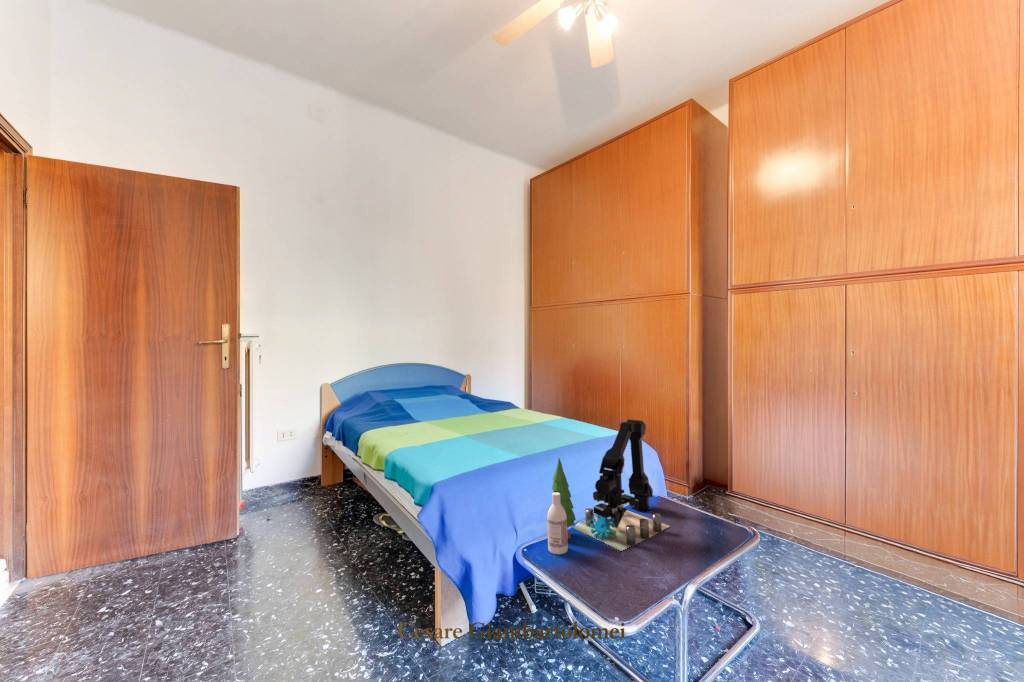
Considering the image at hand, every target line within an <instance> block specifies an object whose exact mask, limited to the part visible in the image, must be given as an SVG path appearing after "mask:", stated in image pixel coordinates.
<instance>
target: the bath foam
mask: <svg viewBox="0 0 1024 682" xmlns="http://www.w3.org/2000/svg"><path fill="white" fill-rule="evenodd" d="M553 492H554V491H553ZM553 492H552V493H551V502H552V503H551V505H550V506H549V509H548V511H547V515H546V516H547V517H546V518H547V519H546V520H547V521H546V523H547V525H546V526H547V548H548V549H547V550H548V552H550V553H551V554H553V555H564V554H566V553H567V552H568V550H569V549H568V548H569V547H568V544H569V543H568V542H569V541H568V540H569V539H567V530H568V528H567V516H566V512H565V510H564V508H563V506H562V505H561V502H560V493H558V492H554V493H553Z"/></svg>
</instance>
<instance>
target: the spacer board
mask: <svg viewBox="0 0 1024 682" xmlns="http://www.w3.org/2000/svg"><path fill="white" fill-rule="evenodd" d="M594 518H595V519H596V521H597V517H594ZM610 518H611V517H610ZM610 518H607V519H610ZM640 519H647V520H648V521H649V538H648V539H650V538H652V537H654V536H656V535H657V533H658V534H660V533H659V532H654V531H653V521H652V518H649V517H646V516H643V515H641V514H638V513H636V512H633V511H630V510H628V509H627V510H626V511H625V513H624V515H623V517H622V519H621V521H620V523H619V525H618V527H617V528H616V527H614V528H613V527H612V526H611V525H610V529H612V530H615V531H616V532H617V533H616V534H615V535H616V536H617V538H616V537H615V536H612V535H610V534H609V533H608V535H609V537H608V538H606V537H605V534H606V533H604V535H603V539H600V538H599V536H600V535H601V534H602V533H601V534H599V535H598V537H597V538H596V537H595V536H594V534H596V533H598V532H595V533H593V534H592V533H591V529H593V530H595V529H596V528H591V527H589V526H586V523H584V522H582V523H583V524H582V523H579V524H577V525H575V526H574V525H573V526H571V528H572V529H573V528H574V529H573V530H575V529H576V530H575V531H577V530H578V531H577V532H579V531H580V532H579V533H581V532H582V533H581V534H583V533H584V534H583V535H585V534H586V535H585V536H587V535H589V536H591V537H593V538H595V539H597V540H600V541H601V540H602V542H604V543H605V544H604V545H606V544H607V545H606V546H608V545H610V546H612V547H614V548H615V549H614V548H613V549H614V550H616V549H617V550H616V551H618V550H619V551H618V552H620V551H622V552H624V551H626V550H628V549H630V548H632V547H631V546H630V545H628V544H627V540H626V526H627V525H633V526H635V535H636V545H638V544H640V543H641V541H642V542H644V541H646V540H645V539H643V538H641V537H640ZM609 523H613V522H612V521H610V522H609ZM594 526H595V522H594ZM661 527H662V532H663V530H664V531H666V530H668V529H670V528H671V526H670V525H668V524H665V523H663V522H661ZM669 527H670V528H669ZM667 528H668V529H667ZM665 529H666V530H665ZM589 536H588V537H589ZM591 537H590V538H591ZM593 538H592V539H593ZM595 539H594V540H595ZM597 540H596V541H597ZM605 540H606V541H605ZM613 540H614V541H613ZM643 540H644V541H643ZM639 542H640V543H639ZM637 543H638V544H637ZM610 546H609V547H610ZM612 547H611V548H612ZM629 547H630V548H629ZM627 548H628V549H627ZM625 549H626V550H625ZM623 550H624V551H623Z"/></svg>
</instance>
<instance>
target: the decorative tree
mask: <svg viewBox="0 0 1024 682" xmlns="http://www.w3.org/2000/svg"><path fill="white" fill-rule="evenodd" d="M557 458H558V459H557V465H556V469H555V472H554V475H553V478H552V480H553V483H552V488H551V490H553V492H552V493H554V492H558V493H560V502H561V505H562V506H563V508H564V510H565V512H566V516H567V540H569V538H570V539H572V535H571V533H570V532H569V531H568V528H570V527H574V525H575V526H576V524H575V521H576V520H577V519H576V515H575V512H574V511H573V509H574V504H573V503H572V500H571V498H572V494H571V492H570V489H569V487H570V485H569V483H568V481H567V480H568V479H567V477H566V474H565V472H564V469H563V464H562V461H561V459H560V457H557Z"/></svg>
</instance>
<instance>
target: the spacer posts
mask: <svg viewBox="0 0 1024 682" xmlns="http://www.w3.org/2000/svg"><path fill="white" fill-rule="evenodd" d="M601 503H602V504H604V505H607V503H604V502H600V503H599V504H601ZM584 511H585V522H586V526H589V527H590V524H591V523H592V524H593V525H594V522H593V521H592V519H593V518H595V517H594V514H595V513H594V508H591V507H590V508H585V510H584ZM651 516H652V517H651V519H652V521H653V531H654V532H660V533H662V532H663V531H662V527H661V523H662V515H661V514H660V513H657V512H656V513H655V512H653V513H652V515H651ZM600 518H601V516H600ZM600 518H599V519H600ZM603 518H604V517H603ZM640 537H641V538H643V539H646V540H648V539H650V538H649V521H648V520H647V519H640ZM626 540H627V544H628V545H630V546H632V547H634V546H636V545H637V544H636V535H635V526H633V525H627V526H626Z"/></svg>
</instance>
